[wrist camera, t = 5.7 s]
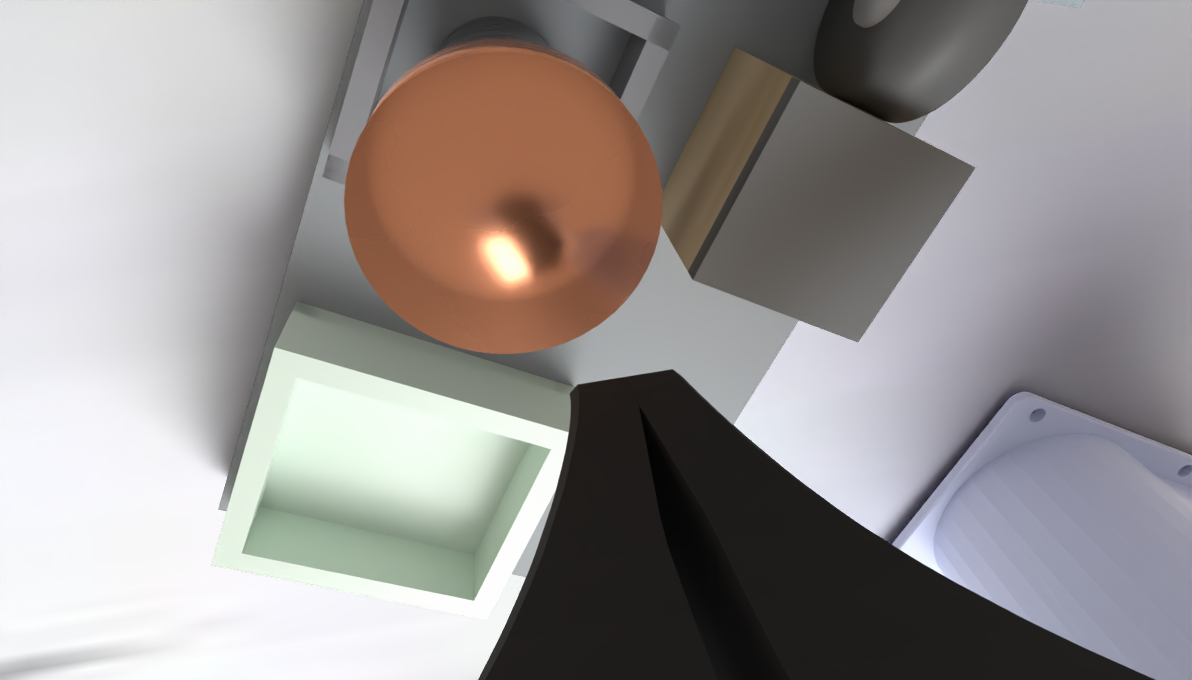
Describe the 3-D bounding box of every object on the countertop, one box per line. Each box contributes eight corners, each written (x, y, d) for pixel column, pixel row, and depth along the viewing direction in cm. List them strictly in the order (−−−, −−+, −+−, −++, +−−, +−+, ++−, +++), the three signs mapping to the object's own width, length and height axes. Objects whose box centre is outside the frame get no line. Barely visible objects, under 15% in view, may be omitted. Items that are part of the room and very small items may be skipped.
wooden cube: (880, 119, 17) (975, 167, 14) (791, 266, 19) (858, 342, 16) (734, 46, 16) (800, 81, 13) (652, 211, 18) (692, 279, 14)
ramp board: (1106, -232, 16) (1216, -259, 13) (618, 570, 25) (632, 637, 23) (559, -655, 12) (577, -797, 9) (231, 480, 21) (200, 549, 19)
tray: (574, 386, 20) (583, 436, 18) (486, 560, 23) (487, 619, 21) (296, 301, 18) (274, 347, 16) (235, 504, 20) (210, 565, 18)
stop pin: (614, 38, 16) (716, 132, 9) (545, 199, 17) (586, 387, 10) (440, -46, 15) (402, -11, 8) (382, 136, 16) (307, 300, 9)
